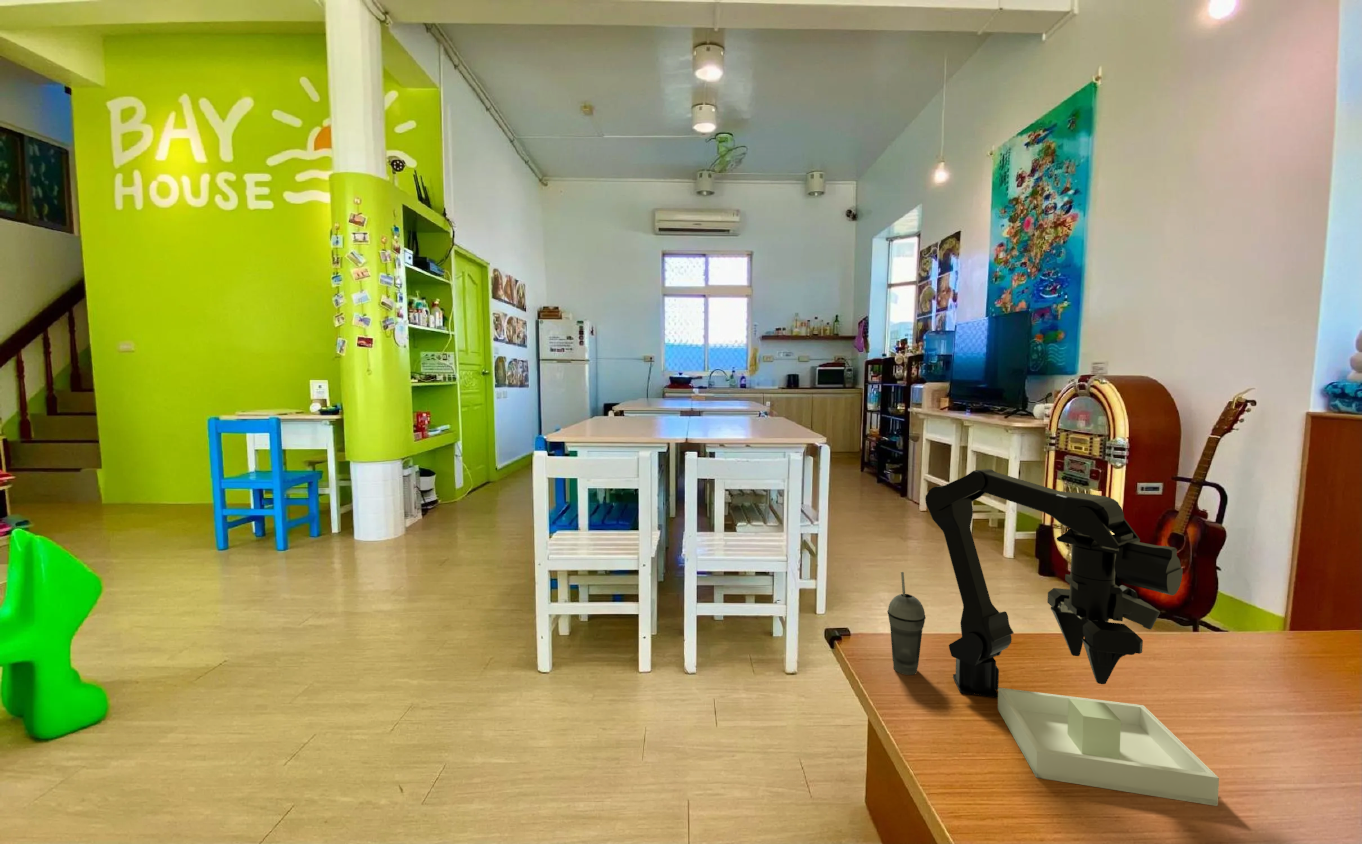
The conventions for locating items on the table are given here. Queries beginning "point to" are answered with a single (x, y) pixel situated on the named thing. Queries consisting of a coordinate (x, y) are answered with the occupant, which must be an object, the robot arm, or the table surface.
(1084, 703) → the sage block
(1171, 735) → the bin
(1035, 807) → the table surface
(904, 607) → the beverage cup
